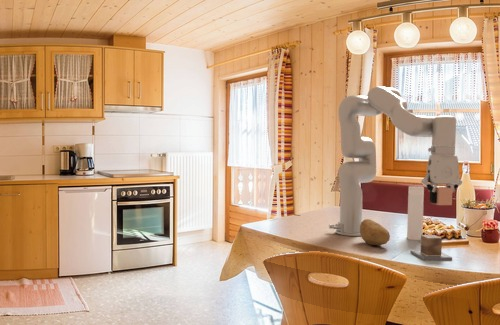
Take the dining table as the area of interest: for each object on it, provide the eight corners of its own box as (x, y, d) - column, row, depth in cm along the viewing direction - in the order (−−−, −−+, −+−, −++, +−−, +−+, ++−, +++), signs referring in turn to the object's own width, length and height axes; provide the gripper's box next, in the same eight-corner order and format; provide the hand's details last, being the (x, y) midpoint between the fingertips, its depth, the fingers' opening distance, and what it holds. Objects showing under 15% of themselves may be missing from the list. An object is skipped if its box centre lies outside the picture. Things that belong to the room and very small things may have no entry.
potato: (371, 250, 162) (372, 225, 162) (354, 241, 177) (355, 218, 177) (393, 249, 164) (394, 224, 163) (374, 240, 179) (375, 217, 179)
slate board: (423, 260, 148) (424, 257, 148) (410, 253, 158) (410, 250, 158) (452, 260, 149) (452, 257, 149) (437, 252, 159) (437, 249, 159)
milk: (407, 236, 187) (408, 185, 186) (422, 238, 185) (423, 186, 184) (406, 239, 182) (408, 186, 181) (422, 240, 179) (424, 187, 179)
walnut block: (427, 255, 151) (427, 238, 151) (420, 251, 156) (421, 235, 156) (441, 255, 152) (441, 238, 151) (433, 251, 156) (434, 235, 156)
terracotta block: (438, 205, 151) (439, 187, 151) (430, 203, 156) (431, 186, 156) (451, 205, 152) (452, 187, 151) (443, 203, 157) (444, 186, 156)
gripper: (425, 151, 148) (423, 204, 149) (472, 152, 150) (470, 204, 151) (414, 150, 156) (412, 201, 157) (459, 151, 158) (457, 201, 159)
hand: (441, 202), depth 154 cm, fingers closed on terracotta block, 5 cm apart
